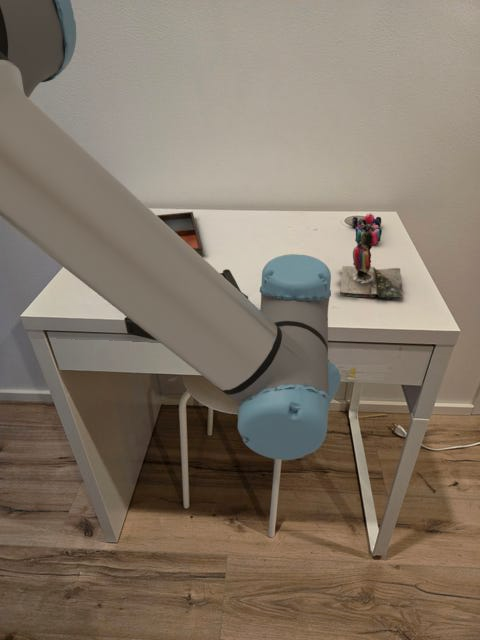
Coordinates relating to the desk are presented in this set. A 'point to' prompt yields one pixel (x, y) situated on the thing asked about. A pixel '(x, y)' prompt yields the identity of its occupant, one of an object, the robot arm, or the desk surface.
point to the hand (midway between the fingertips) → (154, 280)
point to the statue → (369, 268)
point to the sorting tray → (184, 228)
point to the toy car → (362, 221)
